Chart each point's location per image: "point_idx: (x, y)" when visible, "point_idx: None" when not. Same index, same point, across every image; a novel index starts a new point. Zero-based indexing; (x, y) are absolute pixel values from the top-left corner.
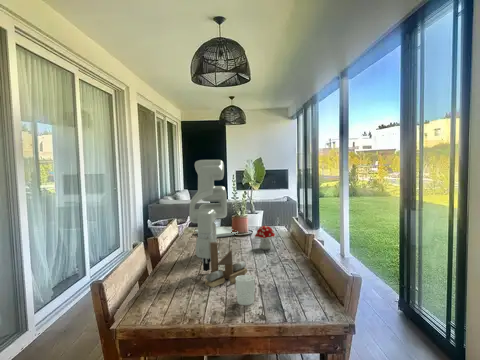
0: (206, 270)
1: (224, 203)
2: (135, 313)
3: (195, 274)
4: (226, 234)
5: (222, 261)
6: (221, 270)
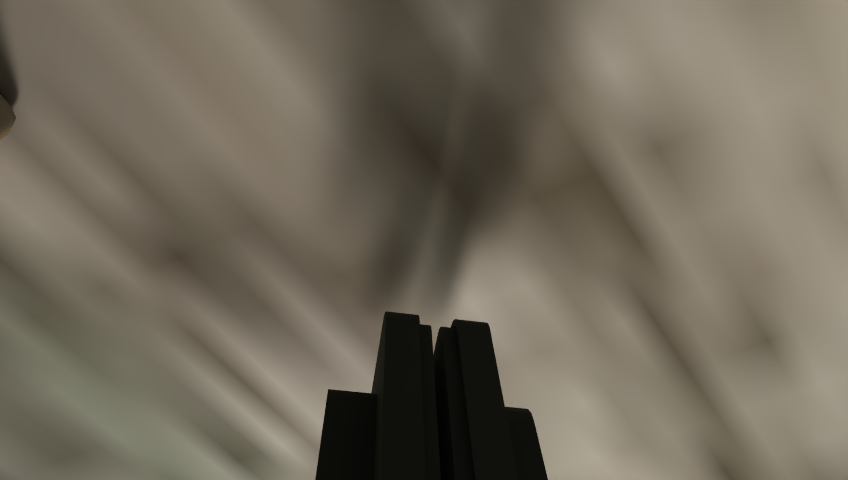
0: (379, 349)
1: None
2: None
3: (681, 113)
4: None
5: None
6: None
